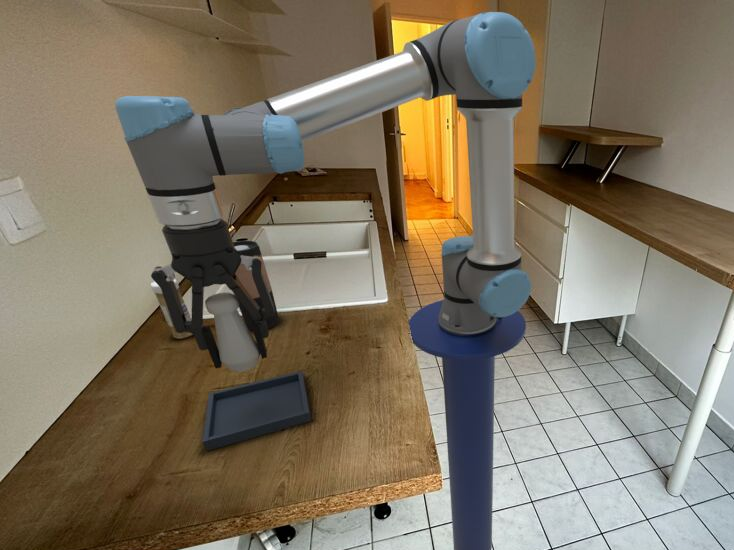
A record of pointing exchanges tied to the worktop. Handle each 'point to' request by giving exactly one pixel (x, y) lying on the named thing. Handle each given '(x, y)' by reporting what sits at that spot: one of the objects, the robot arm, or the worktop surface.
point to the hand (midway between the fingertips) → (241, 358)
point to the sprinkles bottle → (166, 313)
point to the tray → (255, 410)
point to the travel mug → (247, 280)
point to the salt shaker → (232, 333)
